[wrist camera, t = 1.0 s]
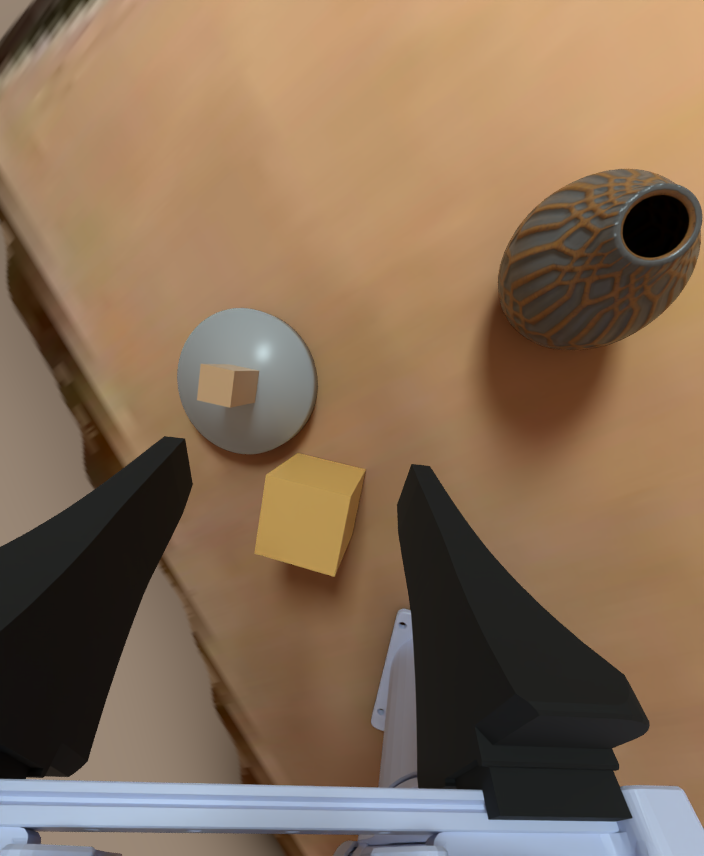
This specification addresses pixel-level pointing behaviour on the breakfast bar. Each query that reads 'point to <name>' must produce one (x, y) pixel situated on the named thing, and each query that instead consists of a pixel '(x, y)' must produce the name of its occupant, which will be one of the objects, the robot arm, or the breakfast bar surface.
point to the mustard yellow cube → (309, 512)
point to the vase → (600, 259)
